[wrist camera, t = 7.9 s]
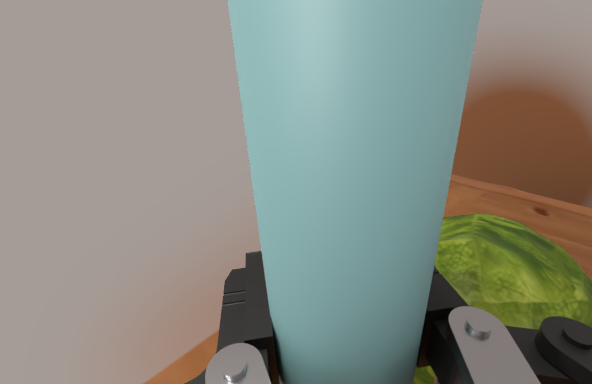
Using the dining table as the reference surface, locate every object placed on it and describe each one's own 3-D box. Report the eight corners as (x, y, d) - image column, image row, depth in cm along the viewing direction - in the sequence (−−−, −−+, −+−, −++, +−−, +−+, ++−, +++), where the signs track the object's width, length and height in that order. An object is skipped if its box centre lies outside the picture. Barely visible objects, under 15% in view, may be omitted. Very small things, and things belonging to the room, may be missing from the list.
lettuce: (474, 323, 40) (617, 274, 31) (445, 501, 22) (779, 515, 12) (395, 226, 44) (502, 155, 34) (313, 308, 25) (494, 205, 16)
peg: (339, 415, 15) (343, 9, 7) (409, 497, 12) (534, -30, 4) (276, 480, 13) (188, 3, 5) (342, 599, 10) (361, -81, 2)
